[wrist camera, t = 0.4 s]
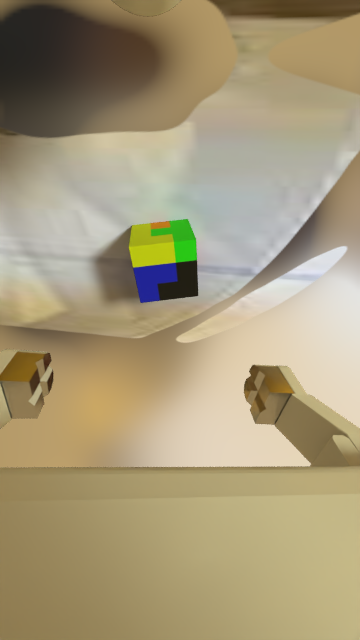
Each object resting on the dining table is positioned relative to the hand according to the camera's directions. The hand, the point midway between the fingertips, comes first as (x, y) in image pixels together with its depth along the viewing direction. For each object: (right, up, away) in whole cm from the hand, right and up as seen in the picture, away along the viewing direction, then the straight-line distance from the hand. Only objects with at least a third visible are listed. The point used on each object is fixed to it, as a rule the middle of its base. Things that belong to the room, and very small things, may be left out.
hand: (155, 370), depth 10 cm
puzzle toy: (-2, +16, +38) cm, 41 cm away
